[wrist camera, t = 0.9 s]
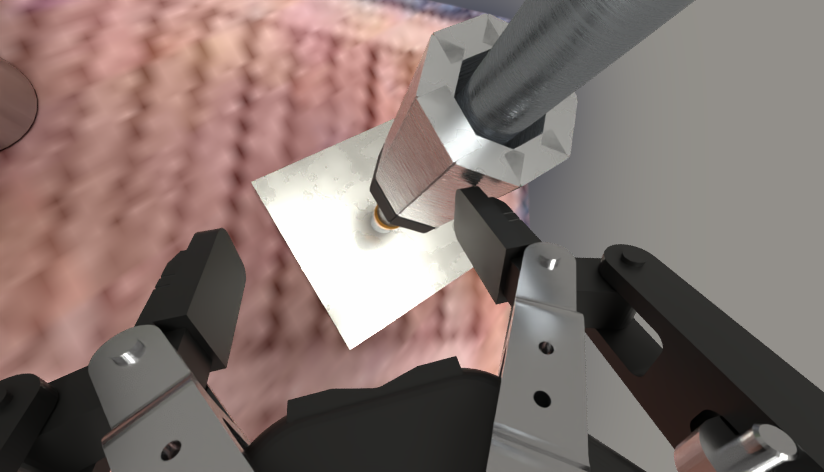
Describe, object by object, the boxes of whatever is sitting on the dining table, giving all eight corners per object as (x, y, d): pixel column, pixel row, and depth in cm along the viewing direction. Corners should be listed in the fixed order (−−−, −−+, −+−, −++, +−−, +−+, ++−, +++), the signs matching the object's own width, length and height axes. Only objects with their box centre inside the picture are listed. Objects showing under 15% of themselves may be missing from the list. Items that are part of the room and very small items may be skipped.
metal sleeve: (359, 151, 17) (388, 49, 10) (443, 112, 19) (522, 0, 12) (412, 242, 18) (481, 211, 10) (491, 195, 19) (600, 138, 12)
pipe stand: (255, 188, 31) (-490, -861, 3) (407, 119, 37) (707, -463, 8) (348, 345, 31) (606, 984, 3) (485, 254, 37) (1047, 156, 8)
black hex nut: (355, 166, 20) (358, 153, 18) (430, 130, 22) (440, 115, 20) (402, 246, 20) (410, 243, 18) (473, 204, 22) (487, 197, 20)
